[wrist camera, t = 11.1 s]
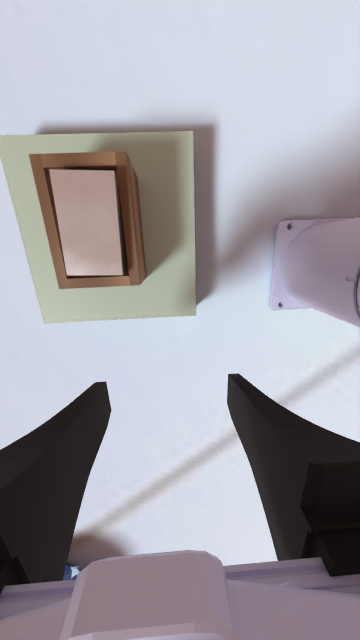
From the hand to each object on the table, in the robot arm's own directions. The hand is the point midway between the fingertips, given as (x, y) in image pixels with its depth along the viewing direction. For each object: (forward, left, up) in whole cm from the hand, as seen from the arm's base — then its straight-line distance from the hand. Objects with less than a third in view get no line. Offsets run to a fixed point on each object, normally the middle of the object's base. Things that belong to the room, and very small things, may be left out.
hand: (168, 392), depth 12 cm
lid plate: (+4, -9, -4) cm, 11 cm away
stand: (+4, -9, -9) cm, 14 cm away
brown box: (+4, -9, -7) cm, 12 cm away
